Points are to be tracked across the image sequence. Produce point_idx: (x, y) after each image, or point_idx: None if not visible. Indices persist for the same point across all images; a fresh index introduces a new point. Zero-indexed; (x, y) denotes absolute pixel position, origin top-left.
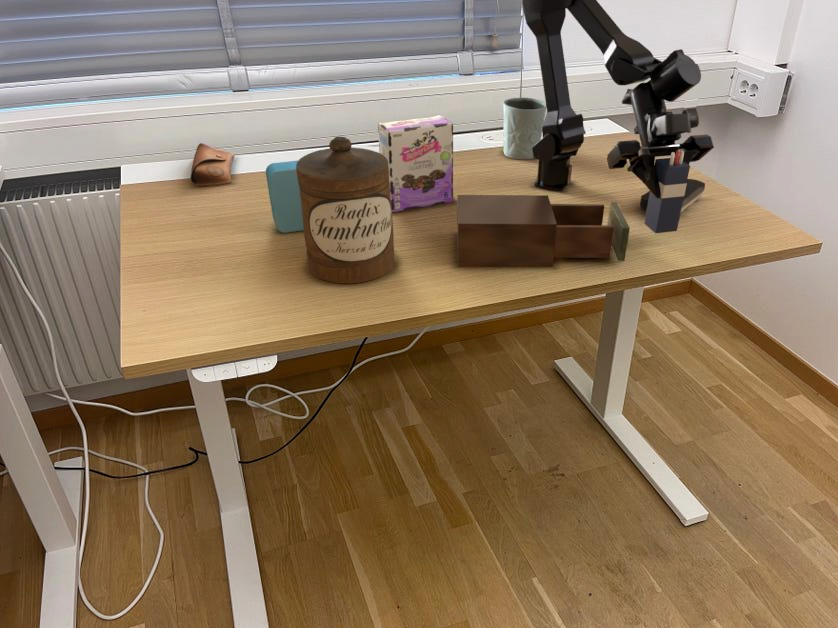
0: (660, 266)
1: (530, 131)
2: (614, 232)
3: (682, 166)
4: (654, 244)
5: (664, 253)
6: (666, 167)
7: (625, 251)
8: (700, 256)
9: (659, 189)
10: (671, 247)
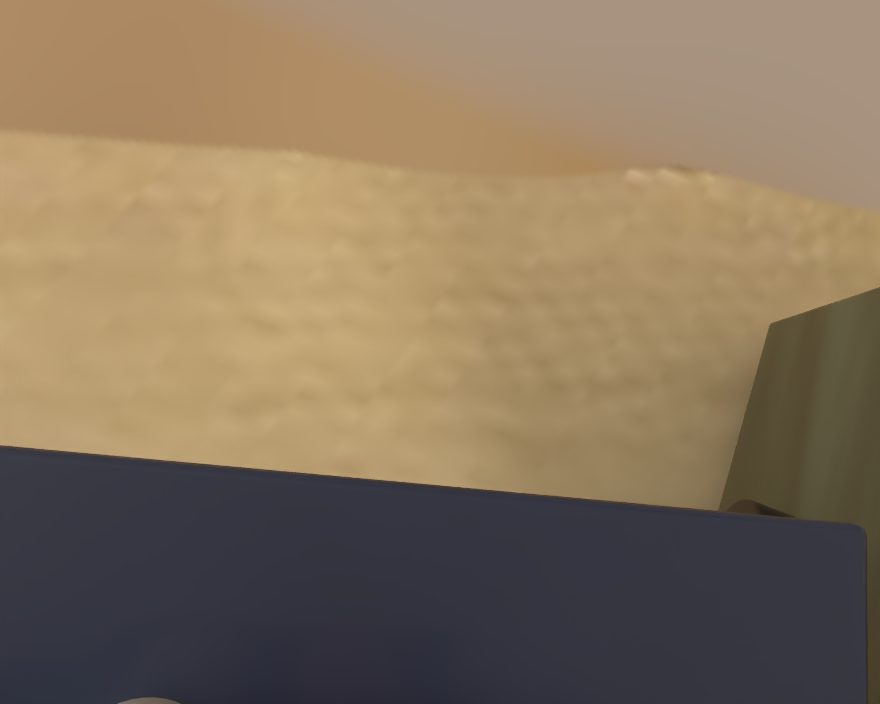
0: (519, 228)
1: None
2: None
3: (239, 479)
4: None
5: (372, 387)
6: (857, 616)
7: (822, 307)
8: (131, 240)
9: None
10: (252, 458)
